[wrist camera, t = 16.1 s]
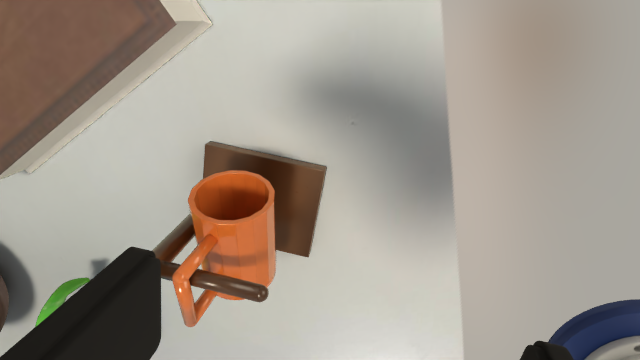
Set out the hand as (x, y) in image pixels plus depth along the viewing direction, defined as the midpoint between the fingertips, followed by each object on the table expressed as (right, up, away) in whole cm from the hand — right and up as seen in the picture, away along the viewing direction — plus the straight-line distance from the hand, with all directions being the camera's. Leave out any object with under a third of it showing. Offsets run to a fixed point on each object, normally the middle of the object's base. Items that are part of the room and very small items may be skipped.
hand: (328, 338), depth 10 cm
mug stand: (-6, +2, +30) cm, 31 cm away
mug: (-8, -6, +24) cm, 26 cm away
